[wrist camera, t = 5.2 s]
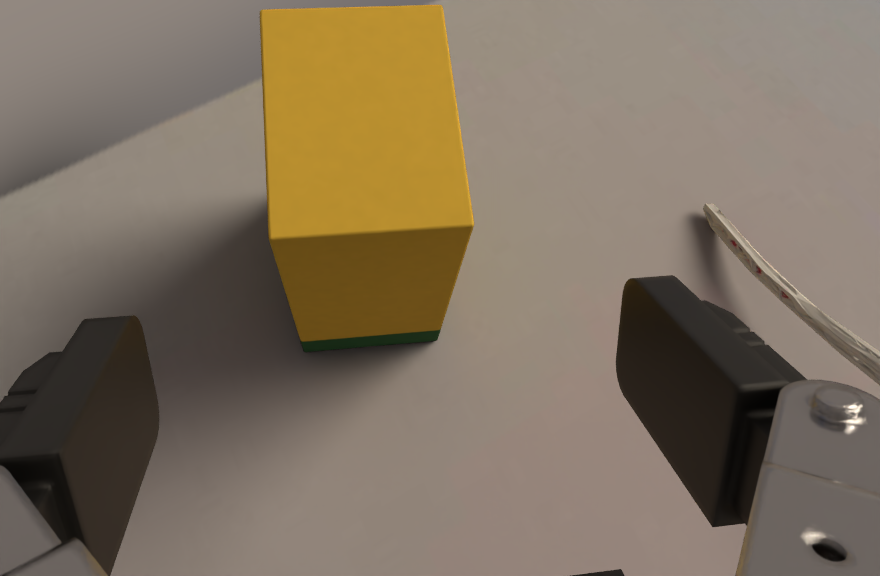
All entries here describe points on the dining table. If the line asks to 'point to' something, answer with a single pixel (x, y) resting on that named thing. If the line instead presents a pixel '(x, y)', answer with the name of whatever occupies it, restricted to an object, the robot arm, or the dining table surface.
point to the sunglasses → (796, 298)
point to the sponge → (363, 171)
